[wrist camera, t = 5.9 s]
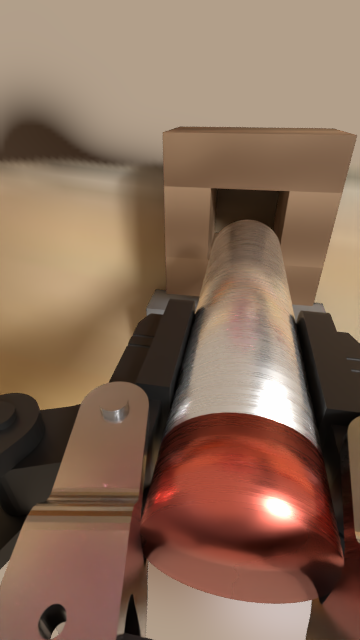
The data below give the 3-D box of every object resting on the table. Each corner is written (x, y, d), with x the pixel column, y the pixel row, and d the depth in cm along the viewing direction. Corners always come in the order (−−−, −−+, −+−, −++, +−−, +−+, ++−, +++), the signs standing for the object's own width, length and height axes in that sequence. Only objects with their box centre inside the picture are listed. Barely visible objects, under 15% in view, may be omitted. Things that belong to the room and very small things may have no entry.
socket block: (180, 126, 20) (162, 132, 16) (333, 128, 19) (357, 135, 15) (180, 262, 25) (166, 293, 21) (301, 271, 24) (312, 306, 20)
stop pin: (213, 217, 14) (128, 487, 4) (286, 221, 14) (377, 532, 4) (210, 280, 16) (142, 579, 6) (274, 286, 15) (317, 618, 5)
